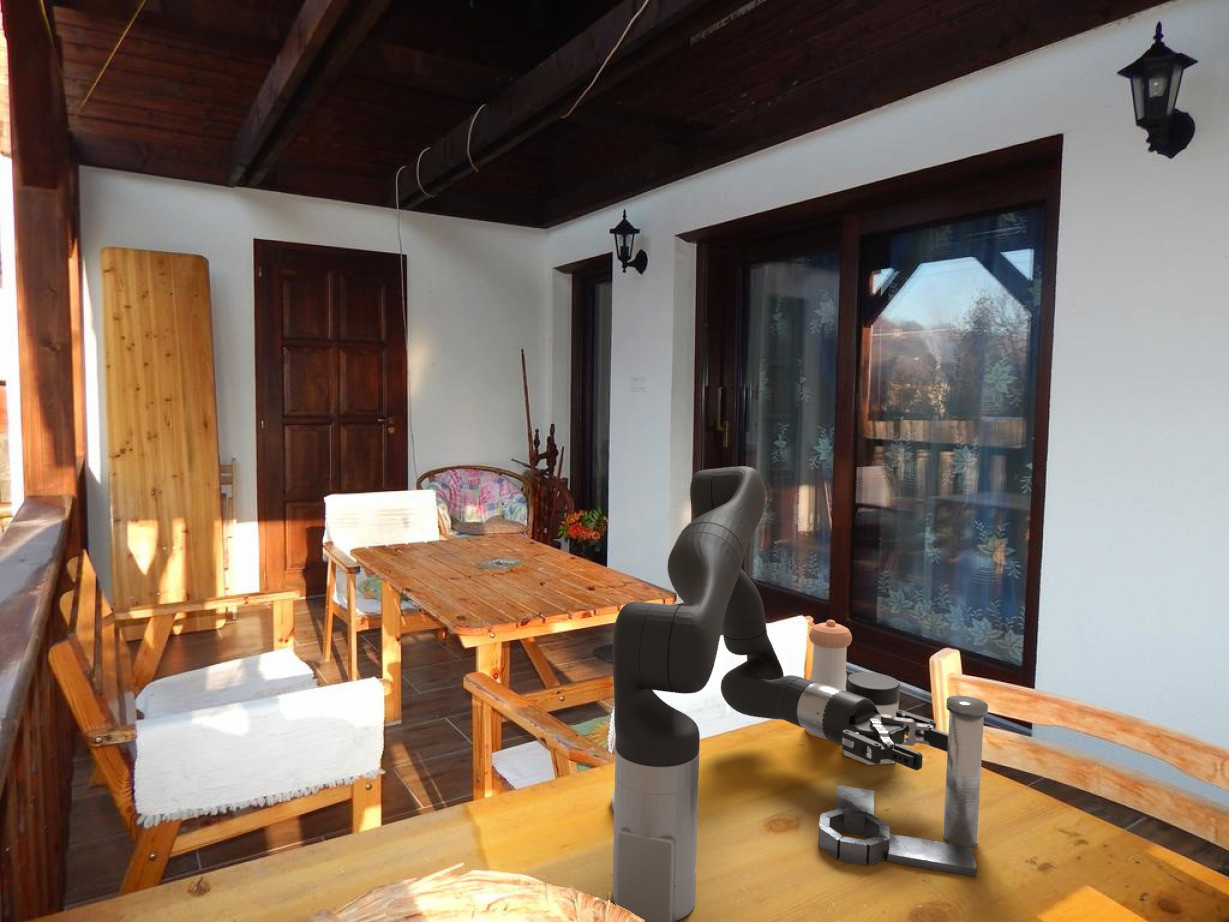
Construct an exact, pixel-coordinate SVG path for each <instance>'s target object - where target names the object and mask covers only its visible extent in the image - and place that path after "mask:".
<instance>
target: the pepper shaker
mask: <svg viewBox="0 0 1229 922" xmlns="http://www.w3.org/2000/svg"><path fill="white" fill-rule="evenodd" d="M808 633H809V634H808V638H809V639H810V642H811V643H812V644H813V648H812V649H813V651H812V669H811V673H810V678H809V680H810V681H813V682H816V683H819V684H824V685H829V686H833V687H836V688H839V689H841V690H844V691H846V678H847V676H848V675H847V651H848V650H847V649H848V647H849V646H850V645H851V643H852V640H853V635H852V633H851V631H850V629H849V628H848V627H845V626H844V625H842V624H839V623H836V621H835V620H833V619H827V620H826V622H821V623H817V624H814V625H813V626H812V627H811V628H810V630H809V632H808ZM804 730H805V732H806V733H807V734H808V735H810V736H813V737H815V738H819V739H823V740H825V739H824V738H822V737H819V736H817V735H815V734H813V733H811V732H810V731H808V730H806V729H804Z"/></svg>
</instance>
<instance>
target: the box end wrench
mask: <svg viewBox="0 0 1229 922" xmlns="http://www.w3.org/2000/svg"><path fill="white" fill-rule="evenodd" d="M835 798H836V799H835V809H832V810H829V811H826V812H822V813H821V814H820V816H819V824H818V843H817V845H818V847H819V848H820V849H821V850H822V851H824V852H825V853H827V854H828V855H830V856H831V857H833V858H834V859H835V860H839V861H840V862H844V863H845V862H846V863H850V864H856V865H861V866H862V865H863V866H871V865H874V864H877V863H880V862H883V861H887V863H893V864H897V865H898V864H900V865H905V866H910V867H911V866H912V867H914V868H915V867H916V868H922V869H928V870H933V871H938V872H945V873H950V874H956V875H962V876H967V877H974V878H977V877H978V876H977V875H978V867H977V864H976V863H977V862H976V859H975V858H976V857H975V854H974V850H973V847H967V846H961V845H955V844H950V843H948V842H942V841H936V840H930V839H926V838H925V839H924V838H917V837H912V836H906V835H900V834H893V833H890V825H889V824H888V823H887V822H885V821H883V820H882V819H881V818H879V817H877V816H875V791H874V790H872V789H867V788H866V789H865V788H859V787H852V786H845V785H840V784H837V787H836V797H835ZM843 832H844V833H851V834H856V835H862V836H865V837H866V838H867V839H860V838H855V837H849V836H843V835H842V834H841V833H843Z"/></svg>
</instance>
